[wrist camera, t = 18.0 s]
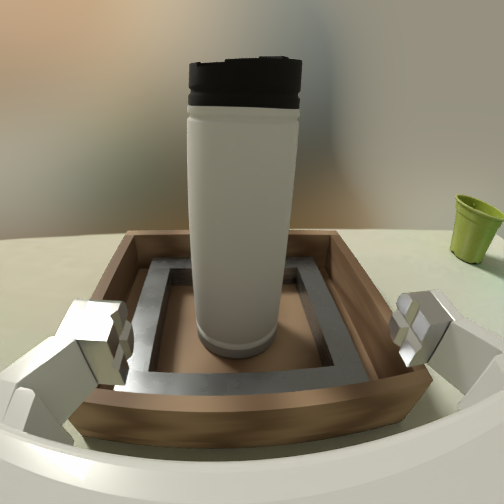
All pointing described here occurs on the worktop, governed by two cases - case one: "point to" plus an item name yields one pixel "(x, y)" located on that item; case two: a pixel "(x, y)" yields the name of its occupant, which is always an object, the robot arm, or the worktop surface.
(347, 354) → the plate
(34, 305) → the worktop surface
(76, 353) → the robot arm
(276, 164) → the travel mug
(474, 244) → the plant pot
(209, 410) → the open box
